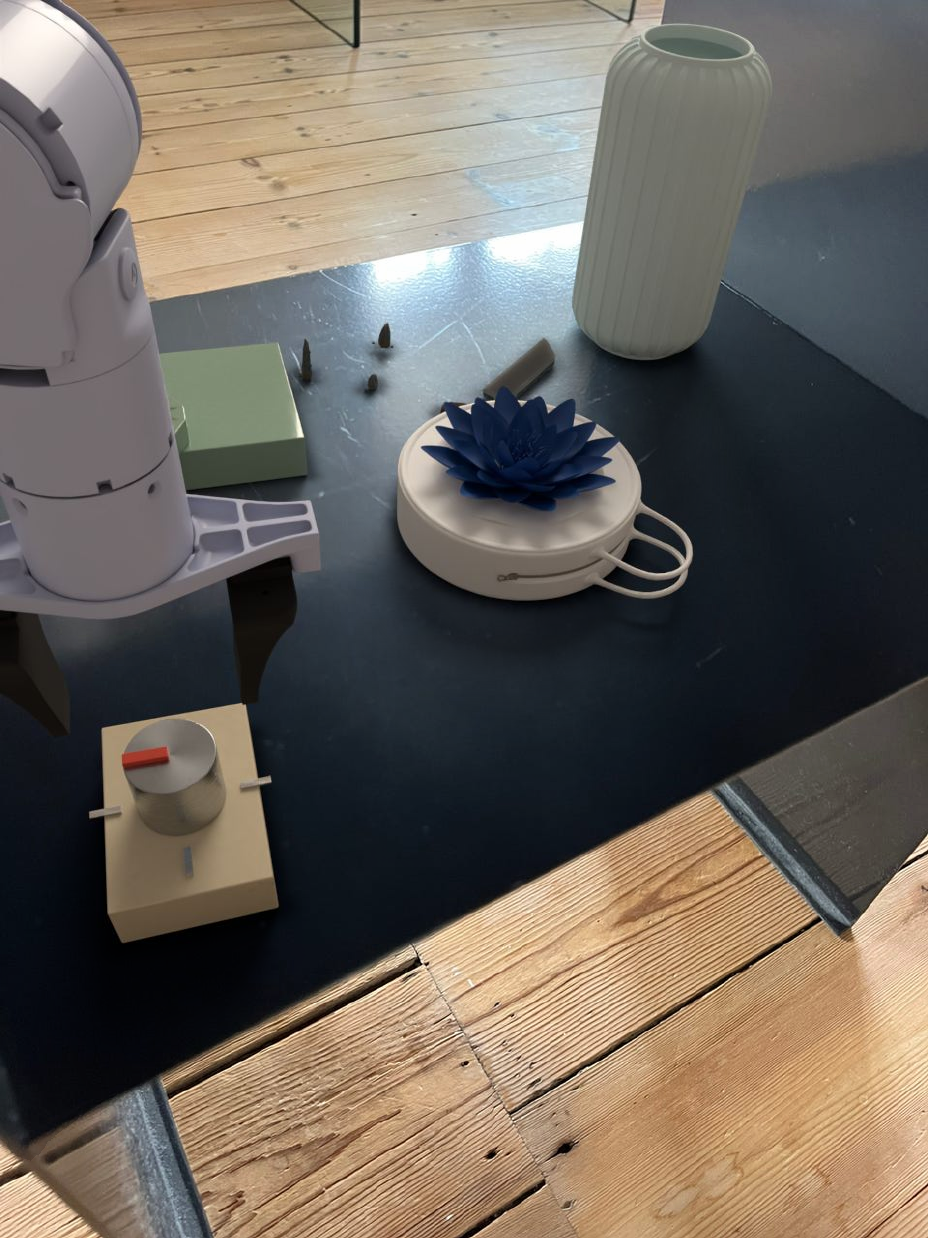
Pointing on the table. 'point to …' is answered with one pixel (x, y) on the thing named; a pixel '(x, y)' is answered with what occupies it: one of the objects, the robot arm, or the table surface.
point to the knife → (520, 372)
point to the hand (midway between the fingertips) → (156, 701)
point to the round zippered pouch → (523, 501)
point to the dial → (175, 776)
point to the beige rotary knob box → (187, 841)
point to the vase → (667, 186)
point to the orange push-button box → (233, 415)
